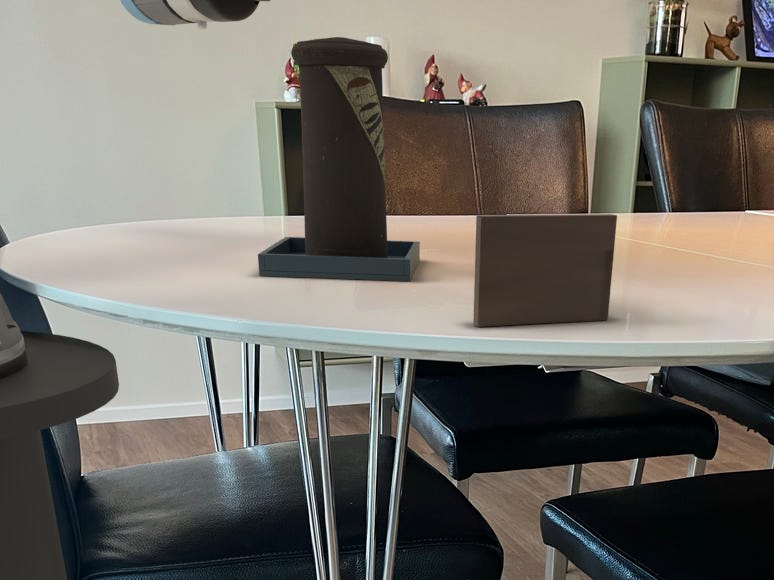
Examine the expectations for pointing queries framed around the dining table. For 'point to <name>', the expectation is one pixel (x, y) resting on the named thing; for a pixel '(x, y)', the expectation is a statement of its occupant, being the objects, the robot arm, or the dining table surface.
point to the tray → (339, 262)
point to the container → (343, 146)
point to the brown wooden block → (543, 268)
